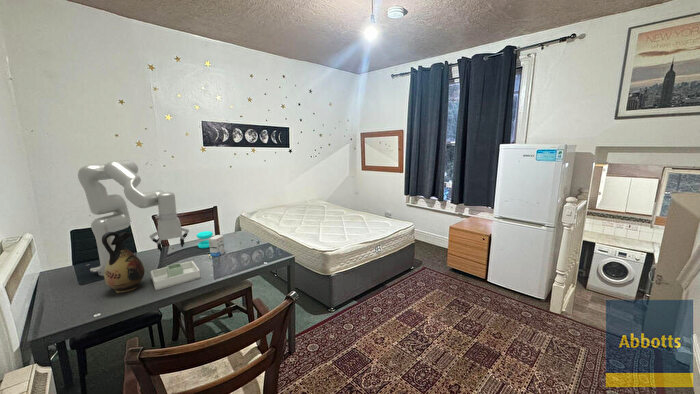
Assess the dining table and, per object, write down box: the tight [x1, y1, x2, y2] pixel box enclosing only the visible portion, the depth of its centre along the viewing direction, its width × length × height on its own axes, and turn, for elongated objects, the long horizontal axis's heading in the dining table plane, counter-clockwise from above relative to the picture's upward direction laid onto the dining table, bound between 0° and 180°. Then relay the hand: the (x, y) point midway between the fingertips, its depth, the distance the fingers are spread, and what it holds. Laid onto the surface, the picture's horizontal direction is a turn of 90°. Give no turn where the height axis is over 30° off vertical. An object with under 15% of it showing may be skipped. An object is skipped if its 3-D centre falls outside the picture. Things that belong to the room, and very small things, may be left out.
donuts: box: [196, 230, 214, 249], centre depth 194 cm, size 10×10×10 cm
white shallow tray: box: [149, 260, 201, 291], centre depth 148 cm, size 20×16×4 cm
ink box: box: [208, 234, 226, 258], centre depth 181 cm, size 9×5×12 cm, turn 168°
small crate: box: [165, 262, 184, 278], centre depth 148 cm, size 6×6×6 cm
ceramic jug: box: [102, 231, 145, 294], centre depth 135 cm, size 17×15×30 cm
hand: (171, 248), depth 146 cm, fingers open, 9 cm apart
